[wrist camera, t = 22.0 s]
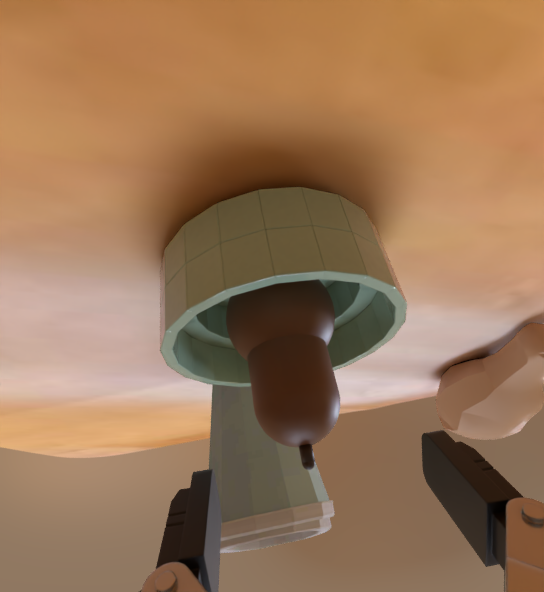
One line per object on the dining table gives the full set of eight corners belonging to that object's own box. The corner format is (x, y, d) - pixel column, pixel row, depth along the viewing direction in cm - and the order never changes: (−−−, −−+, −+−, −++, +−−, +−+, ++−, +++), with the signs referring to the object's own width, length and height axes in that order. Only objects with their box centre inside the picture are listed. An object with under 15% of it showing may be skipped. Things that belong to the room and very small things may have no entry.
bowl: (182, 152, 15) (186, 255, 12) (419, 203, 20) (462, 285, 17) (150, 311, 25) (148, 389, 22) (315, 319, 30) (331, 384, 27)
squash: (411, 387, 54) (429, 451, 48) (487, 300, 39) (525, 377, 33) (481, 391, 55) (507, 454, 49) (581, 307, 40) (635, 383, 34)
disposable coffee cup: (176, 361, 32) (181, 569, 25) (294, 334, 32) (338, 540, 24) (215, 394, 41) (227, 553, 34) (307, 373, 41) (343, 532, 33)
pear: (237, 229, 19) (271, 463, 13) (337, 243, 21) (405, 448, 15) (210, 293, 23) (226, 488, 17) (295, 300, 26) (335, 473, 20)
